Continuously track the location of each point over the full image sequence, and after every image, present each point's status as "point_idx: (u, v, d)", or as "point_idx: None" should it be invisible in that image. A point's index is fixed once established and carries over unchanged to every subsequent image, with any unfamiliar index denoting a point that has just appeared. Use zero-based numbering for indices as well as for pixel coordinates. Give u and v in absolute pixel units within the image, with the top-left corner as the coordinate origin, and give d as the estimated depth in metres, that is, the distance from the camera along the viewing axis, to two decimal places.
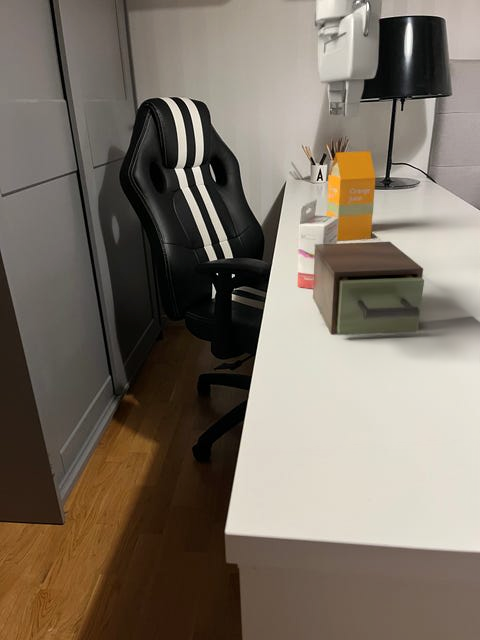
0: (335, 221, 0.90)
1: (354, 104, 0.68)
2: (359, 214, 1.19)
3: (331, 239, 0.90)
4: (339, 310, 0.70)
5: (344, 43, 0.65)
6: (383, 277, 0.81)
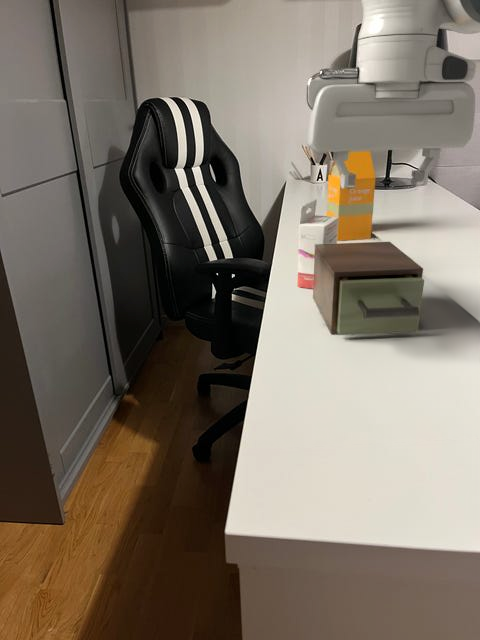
0: (335, 221, 0.90)
1: (342, 175, 0.63)
2: (359, 214, 1.19)
3: (331, 239, 0.90)
4: (339, 310, 0.70)
5: None
6: (383, 277, 0.81)
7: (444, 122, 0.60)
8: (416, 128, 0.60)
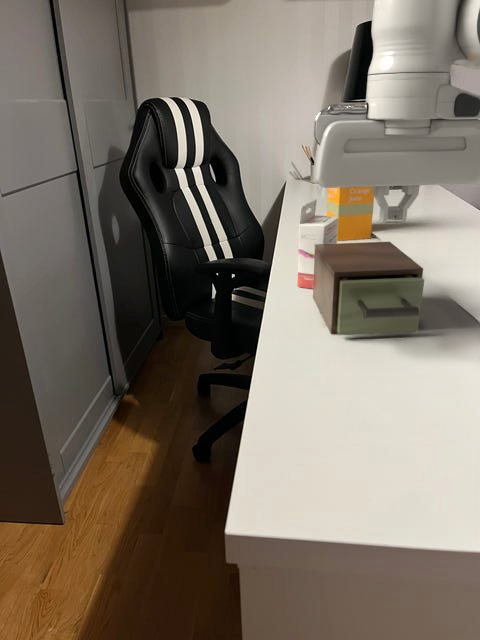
0: (335, 221, 0.90)
1: (381, 209, 0.62)
2: (359, 214, 1.19)
3: (331, 239, 0.90)
4: (339, 310, 0.70)
5: None
6: (383, 277, 0.81)
7: (456, 158, 0.59)
8: (426, 165, 0.59)
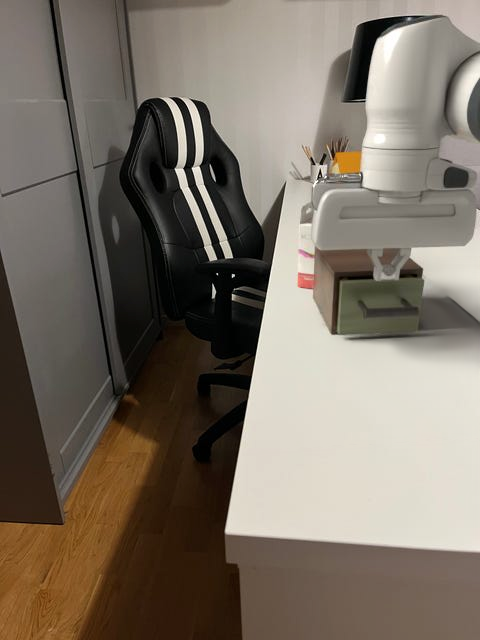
0: None
1: (375, 268, 0.65)
2: None
3: None
4: (339, 310, 0.70)
5: None
6: None
7: (445, 224, 0.62)
8: (418, 229, 0.62)
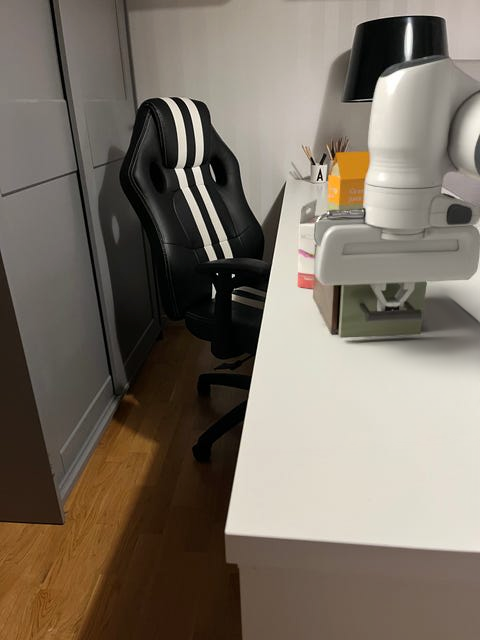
0: None
1: (379, 302, 0.65)
2: None
3: None
4: (341, 313, 0.69)
5: None
6: None
7: (449, 258, 0.62)
8: (421, 264, 0.62)
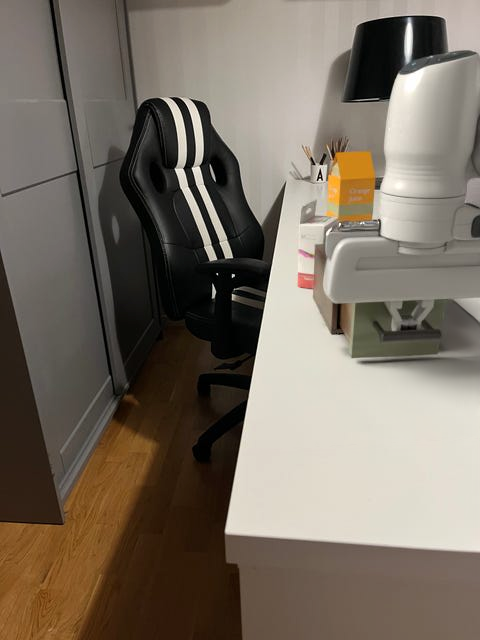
0: (335, 221, 0.90)
1: (394, 320, 0.60)
2: (359, 214, 1.19)
3: None
4: (352, 331, 0.64)
5: None
6: None
7: (472, 274, 0.56)
8: (442, 280, 0.56)
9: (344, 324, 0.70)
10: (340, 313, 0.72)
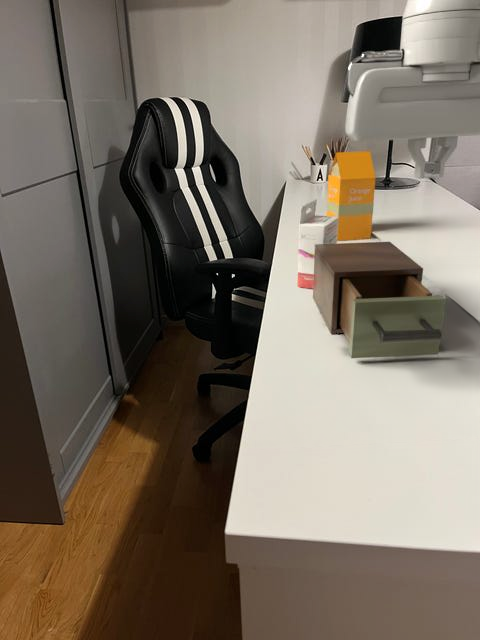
0: (335, 221, 0.90)
1: (417, 164, 0.59)
2: (359, 214, 1.19)
3: (331, 239, 0.90)
4: (352, 331, 0.64)
5: None
6: (398, 292, 0.74)
7: None
8: (466, 114, 0.56)
9: (344, 324, 0.70)
10: (340, 313, 0.72)
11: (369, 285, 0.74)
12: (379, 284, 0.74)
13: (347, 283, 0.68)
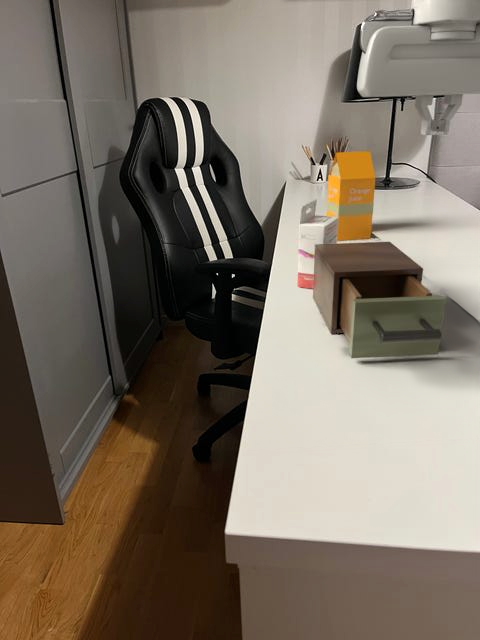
0: (335, 221, 0.90)
1: (424, 121, 0.63)
2: (359, 214, 1.19)
3: (331, 239, 0.90)
4: (352, 331, 0.64)
5: None
6: (398, 292, 0.74)
7: None
8: (471, 72, 0.60)
9: (344, 324, 0.70)
10: (340, 313, 0.72)
11: (369, 285, 0.74)
12: (379, 284, 0.74)
13: (347, 283, 0.68)
